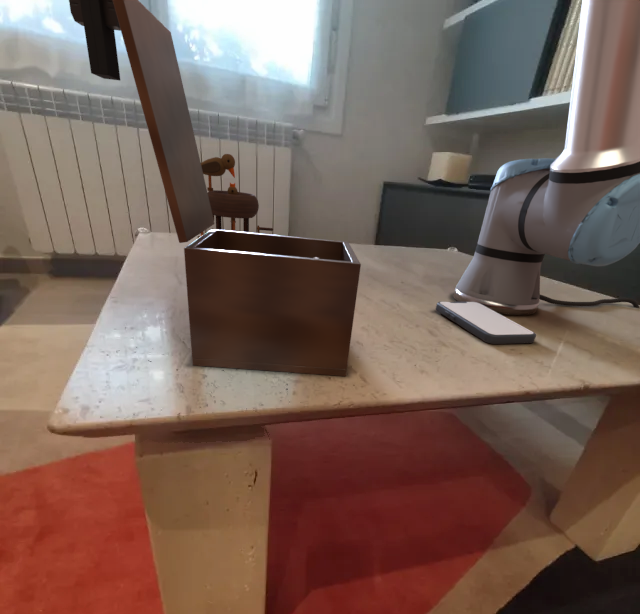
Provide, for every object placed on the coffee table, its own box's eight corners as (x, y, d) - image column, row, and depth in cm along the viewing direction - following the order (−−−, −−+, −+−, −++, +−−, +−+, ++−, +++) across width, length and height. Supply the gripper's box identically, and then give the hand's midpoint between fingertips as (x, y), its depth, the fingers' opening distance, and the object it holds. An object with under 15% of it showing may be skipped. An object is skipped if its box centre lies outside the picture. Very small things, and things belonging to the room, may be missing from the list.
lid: (170, 31, 41) (162, 32, 41) (118, -21, 30) (107, -19, 30) (214, 224, 50) (208, 225, 50) (187, 242, 39) (179, 243, 39)
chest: (337, 334, 58) (348, 241, 52) (345, 376, 46) (360, 264, 40) (215, 324, 57) (211, 228, 50) (192, 365, 45) (183, 247, 39)
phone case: (537, 345, 62) (474, 310, 75) (541, 335, 62) (477, 301, 74) (487, 346, 60) (431, 310, 72) (490, 336, 59) (433, 300, 72)
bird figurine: (195, 281, 74) (185, 146, 65) (191, 272, 84) (183, 153, 74) (279, 282, 79) (281, 157, 70) (267, 274, 88) (268, 161, 79)
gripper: (-137, -543, 22) (4, 59, 34) (125, -488, 22) (169, 78, 35) (-36, -382, 28) (51, 75, 40) (165, -344, 29) (190, 91, 41)
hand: (106, 76), depth 38 cm, fingers closed
